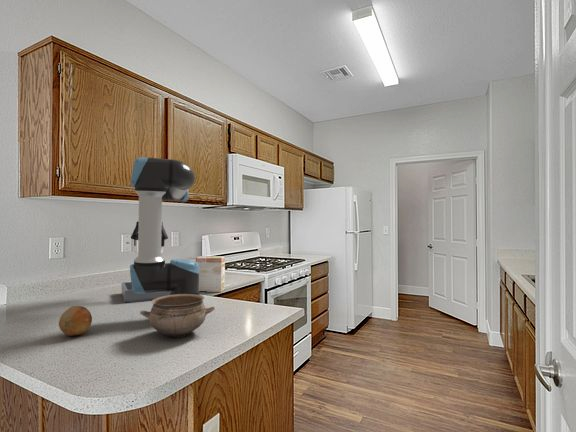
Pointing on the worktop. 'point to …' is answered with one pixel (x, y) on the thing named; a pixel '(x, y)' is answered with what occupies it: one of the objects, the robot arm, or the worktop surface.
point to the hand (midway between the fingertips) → (149, 252)
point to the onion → (75, 321)
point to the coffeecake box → (211, 273)
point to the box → (131, 296)
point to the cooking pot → (177, 314)
